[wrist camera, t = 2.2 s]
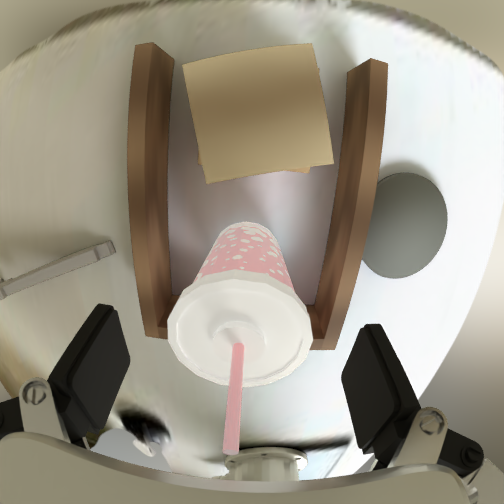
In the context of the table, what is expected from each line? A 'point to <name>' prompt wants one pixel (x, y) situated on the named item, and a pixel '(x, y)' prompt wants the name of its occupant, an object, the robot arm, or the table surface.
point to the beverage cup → (241, 319)
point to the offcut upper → (258, 112)
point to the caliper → (56, 268)
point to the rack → (344, 210)
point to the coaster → (404, 226)
